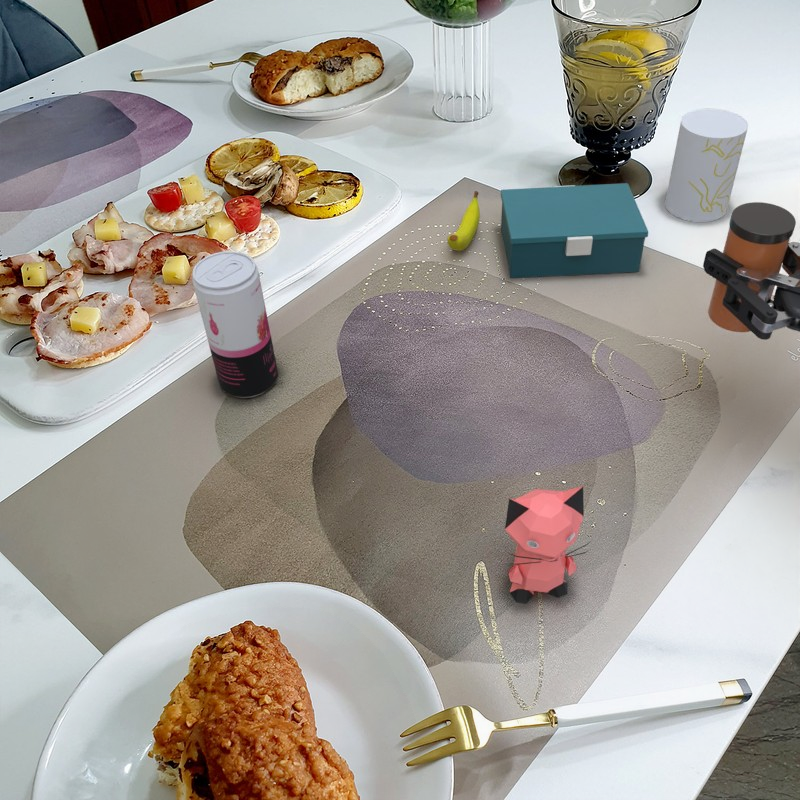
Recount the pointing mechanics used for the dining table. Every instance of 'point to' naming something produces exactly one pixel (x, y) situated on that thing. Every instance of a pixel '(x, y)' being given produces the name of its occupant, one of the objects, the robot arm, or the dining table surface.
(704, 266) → the robot arm
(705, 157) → the cup
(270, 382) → the beverage can
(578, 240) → the lunchbox
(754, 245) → the tea tin
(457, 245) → the fruit
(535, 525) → the cat figurine
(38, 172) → the dining table surface
